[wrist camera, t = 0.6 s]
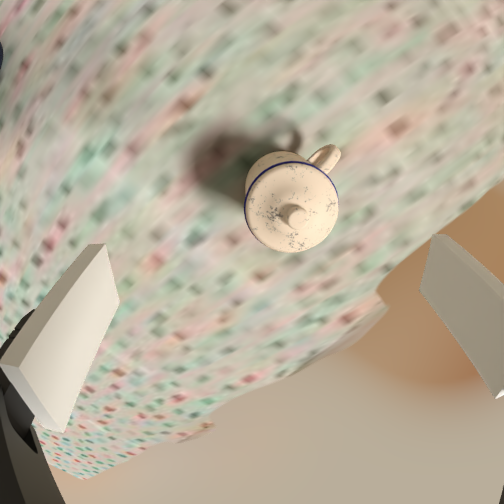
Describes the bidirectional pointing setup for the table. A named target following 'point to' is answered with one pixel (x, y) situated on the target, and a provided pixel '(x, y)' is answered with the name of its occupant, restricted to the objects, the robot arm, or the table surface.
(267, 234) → the teacup with lid
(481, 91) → the table surface
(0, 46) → the canister
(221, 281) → the table surface
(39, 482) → the robot arm
